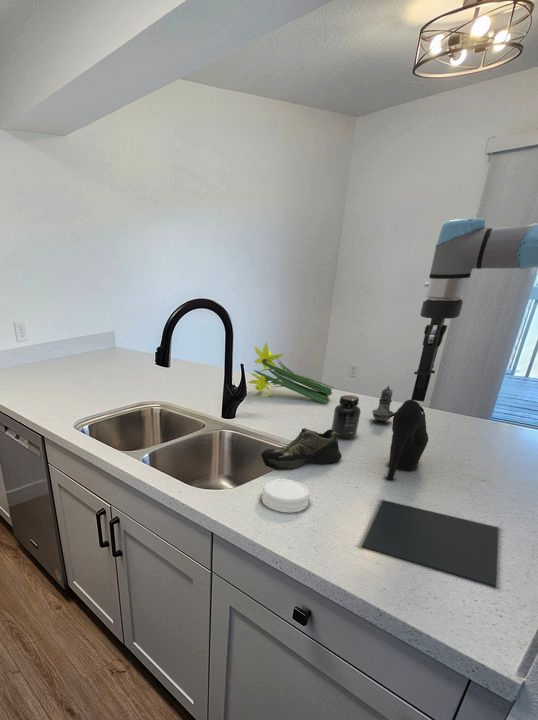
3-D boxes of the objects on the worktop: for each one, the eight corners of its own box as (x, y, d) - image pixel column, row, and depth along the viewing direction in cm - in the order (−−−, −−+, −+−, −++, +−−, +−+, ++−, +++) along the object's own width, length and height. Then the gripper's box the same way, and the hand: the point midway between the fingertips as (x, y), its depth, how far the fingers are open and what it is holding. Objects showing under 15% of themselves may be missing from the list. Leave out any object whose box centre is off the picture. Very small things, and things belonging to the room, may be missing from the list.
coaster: (297, 518, 92) (299, 504, 90) (253, 504, 98) (255, 491, 96) (314, 499, 99) (316, 485, 97) (273, 487, 105) (274, 474, 103)
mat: (497, 529, 85) (497, 527, 84) (494, 588, 71) (495, 585, 71) (382, 502, 96) (383, 500, 96) (361, 548, 82) (362, 545, 82)
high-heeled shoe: (425, 460, 113) (447, 385, 103) (404, 488, 101) (426, 406, 92) (392, 453, 118) (409, 380, 108) (368, 479, 106) (385, 399, 97)
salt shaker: (365, 421, 139) (373, 384, 134) (380, 418, 141) (388, 382, 135) (380, 427, 134) (388, 389, 129) (395, 424, 136) (404, 386, 130)
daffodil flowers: (316, 412, 151) (230, 375, 167) (319, 421, 165) (239, 386, 180) (342, 369, 149) (252, 335, 164) (343, 381, 162) (260, 349, 178)
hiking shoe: (254, 459, 119) (256, 428, 114) (327, 450, 121) (332, 419, 117) (267, 473, 111) (270, 440, 107) (345, 463, 114) (351, 430, 109)
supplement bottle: (358, 435, 130) (366, 396, 124) (351, 442, 125) (358, 402, 120) (334, 430, 134) (341, 392, 129) (327, 437, 129) (333, 398, 124)
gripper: (427, 295, 104) (404, 391, 115) (419, 301, 95) (395, 405, 106) (466, 295, 100) (438, 395, 111) (461, 302, 91) (432, 409, 102)
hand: (417, 399), depth 108 cm, fingers closed
